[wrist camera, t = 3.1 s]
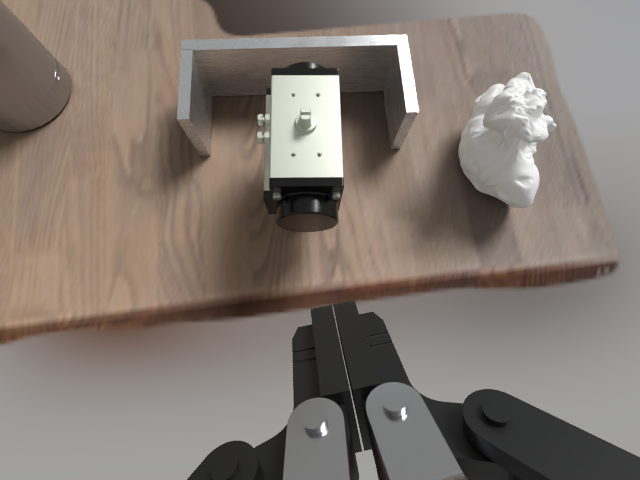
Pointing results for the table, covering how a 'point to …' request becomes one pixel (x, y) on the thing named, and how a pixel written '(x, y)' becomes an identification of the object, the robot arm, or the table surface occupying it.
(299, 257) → the table surface
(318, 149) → the pneumatic valve
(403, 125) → the cradle
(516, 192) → the bust
